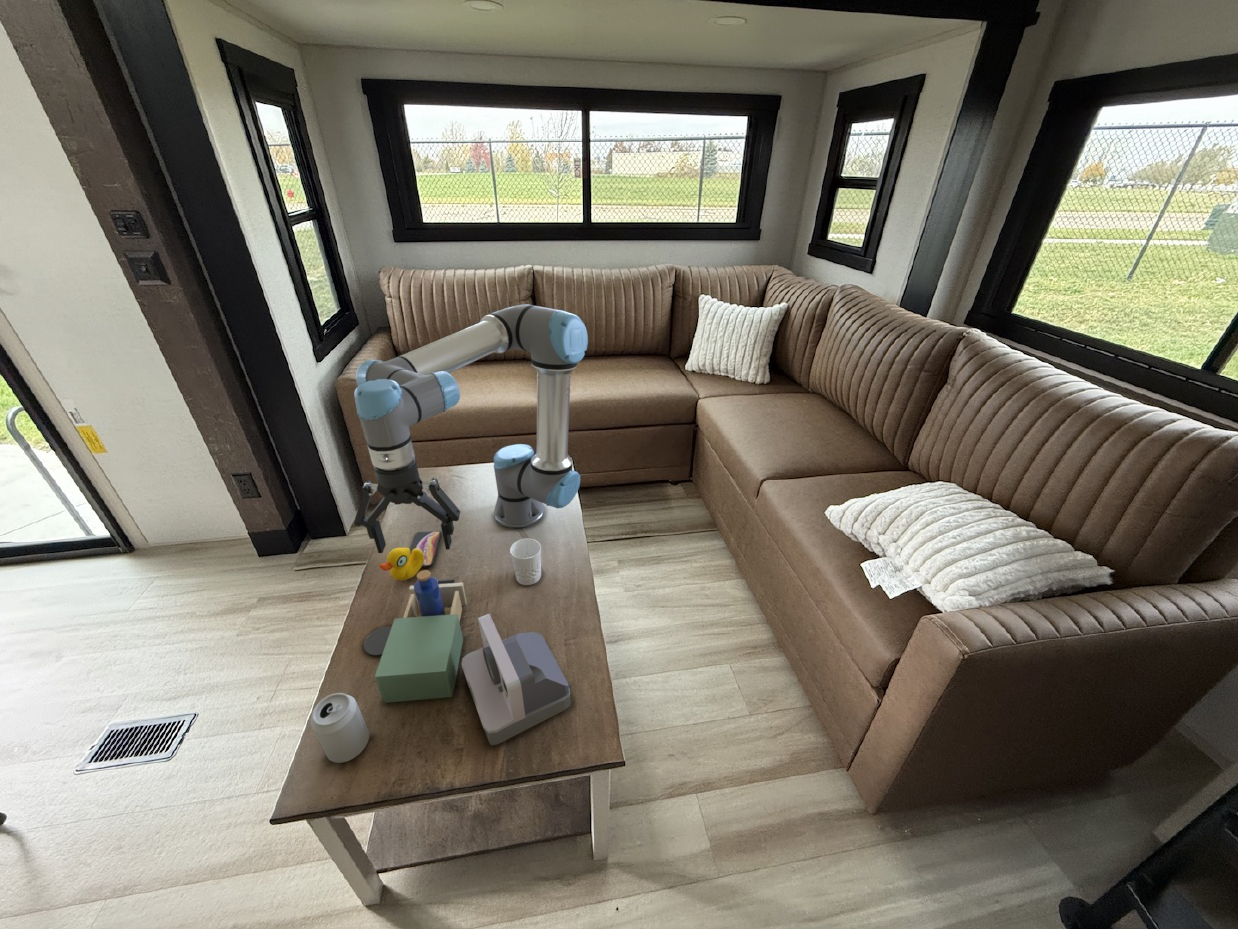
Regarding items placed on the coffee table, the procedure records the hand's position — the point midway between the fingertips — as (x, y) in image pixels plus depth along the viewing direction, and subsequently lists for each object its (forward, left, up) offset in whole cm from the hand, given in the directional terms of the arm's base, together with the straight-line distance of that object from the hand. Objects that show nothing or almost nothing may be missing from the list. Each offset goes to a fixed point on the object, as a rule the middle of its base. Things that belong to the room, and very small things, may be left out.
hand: (415, 547), depth 105 cm
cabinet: (+11, 0, -25) cm, 28 cm away
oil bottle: (0, 0, -23) cm, 23 cm away
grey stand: (+18, +20, -25) cm, 37 cm away
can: (+27, -11, -25) cm, 39 cm away
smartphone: (-28, -9, -25) cm, 39 cm away
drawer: (-2, 0, -24) cm, 24 cm away
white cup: (-15, +21, -25) cm, 36 cm away
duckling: (-18, -11, -25) cm, 33 cm away
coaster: (+3, -11, -25) cm, 28 cm away
